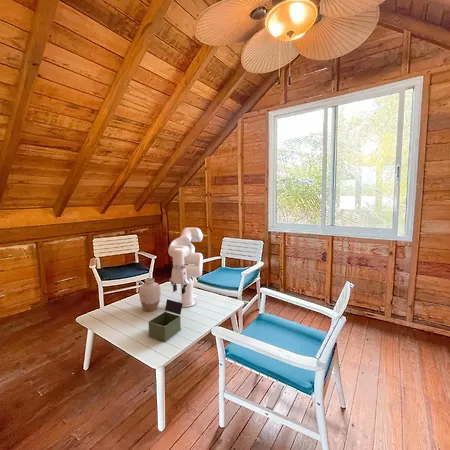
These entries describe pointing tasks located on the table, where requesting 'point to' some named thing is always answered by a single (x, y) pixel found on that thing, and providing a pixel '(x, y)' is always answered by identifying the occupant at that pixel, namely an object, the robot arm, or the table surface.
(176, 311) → the flap
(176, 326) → the olive green hollow box
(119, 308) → the table surface
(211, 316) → the table surface
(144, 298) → the vase
